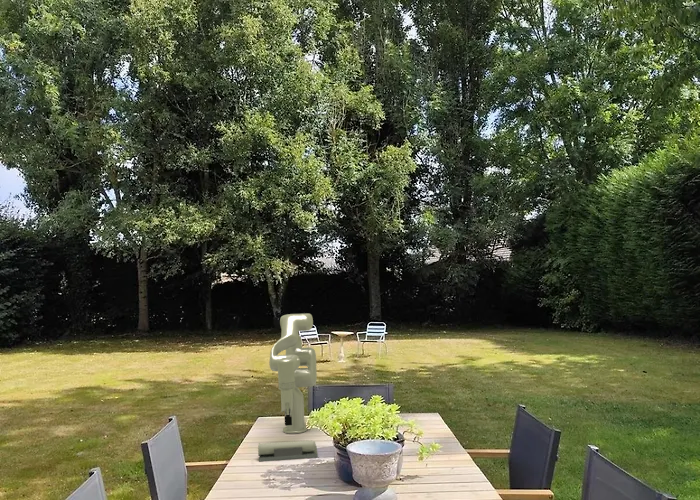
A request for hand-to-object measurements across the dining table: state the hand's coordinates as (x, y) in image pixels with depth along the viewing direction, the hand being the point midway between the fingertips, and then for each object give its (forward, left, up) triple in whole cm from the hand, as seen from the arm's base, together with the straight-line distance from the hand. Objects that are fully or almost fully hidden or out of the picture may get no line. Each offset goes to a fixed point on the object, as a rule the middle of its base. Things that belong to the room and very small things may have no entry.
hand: (288, 424), depth 260 cm
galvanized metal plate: (+11, 0, -11) cm, 15 cm away
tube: (+13, -1, -9) cm, 16 cm away
